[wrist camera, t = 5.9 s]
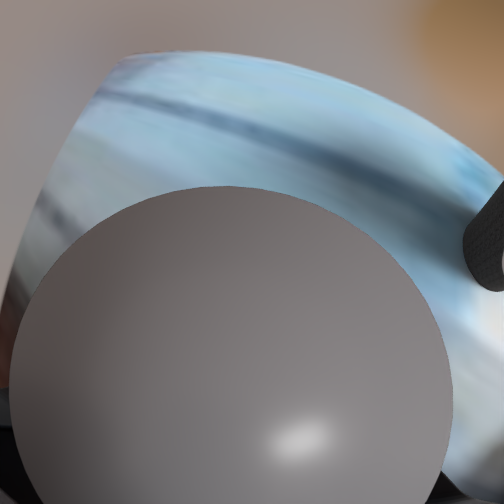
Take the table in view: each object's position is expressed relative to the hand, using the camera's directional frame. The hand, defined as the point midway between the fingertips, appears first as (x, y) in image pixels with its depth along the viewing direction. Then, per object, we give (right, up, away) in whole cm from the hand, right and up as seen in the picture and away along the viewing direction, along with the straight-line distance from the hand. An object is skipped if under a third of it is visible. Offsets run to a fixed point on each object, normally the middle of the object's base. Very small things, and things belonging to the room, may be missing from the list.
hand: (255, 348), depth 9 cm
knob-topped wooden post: (0, -4, +6) cm, 7 cm away
